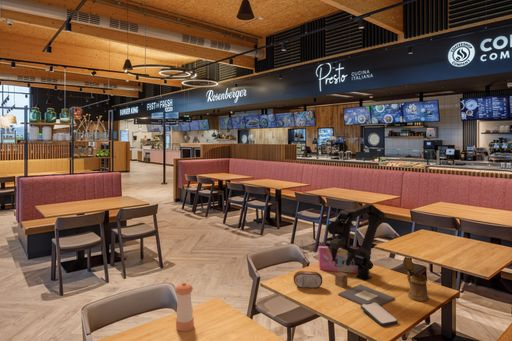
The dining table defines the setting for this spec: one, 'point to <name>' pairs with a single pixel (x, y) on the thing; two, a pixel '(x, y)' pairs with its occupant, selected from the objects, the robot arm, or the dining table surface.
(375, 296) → the mat
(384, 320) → the phone case
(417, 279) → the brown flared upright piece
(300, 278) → the portable speaker
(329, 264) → the gum box
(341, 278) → the block
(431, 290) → the dining table surface
